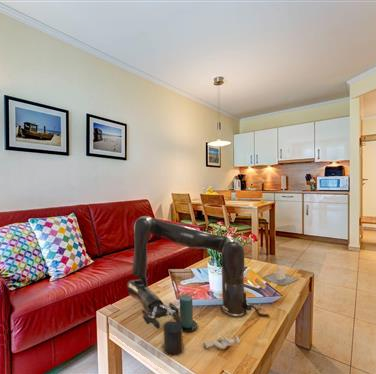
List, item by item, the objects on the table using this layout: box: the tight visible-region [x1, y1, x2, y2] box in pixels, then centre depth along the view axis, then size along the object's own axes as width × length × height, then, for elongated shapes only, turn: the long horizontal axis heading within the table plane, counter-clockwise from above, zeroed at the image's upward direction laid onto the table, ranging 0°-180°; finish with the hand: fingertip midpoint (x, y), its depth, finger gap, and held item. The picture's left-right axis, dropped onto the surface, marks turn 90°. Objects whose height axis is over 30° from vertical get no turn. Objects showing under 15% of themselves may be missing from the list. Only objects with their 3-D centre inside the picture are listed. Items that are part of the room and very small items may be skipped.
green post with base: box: [179, 294, 198, 333], centre depth 97 cm, size 8×8×12 cm
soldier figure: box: [203, 333, 240, 350], centre depth 84 cm, size 8×5×12 cm
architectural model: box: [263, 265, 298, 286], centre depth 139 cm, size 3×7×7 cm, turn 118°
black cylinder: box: [163, 320, 184, 356], centre depth 85 cm, size 7×7×8 cm
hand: (169, 323), depth 87 cm, fingers open, 8 cm apart
